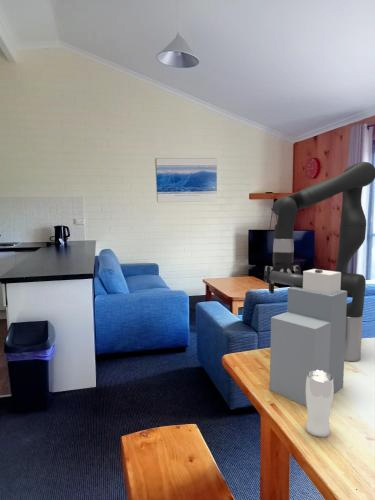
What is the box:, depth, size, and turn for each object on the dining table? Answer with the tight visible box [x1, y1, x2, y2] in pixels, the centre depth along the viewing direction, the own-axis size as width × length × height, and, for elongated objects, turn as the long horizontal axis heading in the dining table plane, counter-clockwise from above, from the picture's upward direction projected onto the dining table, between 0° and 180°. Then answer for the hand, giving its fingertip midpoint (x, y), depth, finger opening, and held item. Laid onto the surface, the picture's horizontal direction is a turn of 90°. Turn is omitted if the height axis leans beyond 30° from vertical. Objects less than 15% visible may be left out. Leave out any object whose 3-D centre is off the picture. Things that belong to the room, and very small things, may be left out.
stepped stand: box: [269, 286, 348, 407], centre depth 112 cm, size 19×15×32 cm
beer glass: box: [305, 370, 335, 438], centre depth 92 cm, size 7×7×15 cm
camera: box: [270, 268, 341, 295], centre depth 117 cm, size 7×23×7 cm, turn 41°
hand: (282, 292), depth 135 cm, fingers open, 8 cm apart
